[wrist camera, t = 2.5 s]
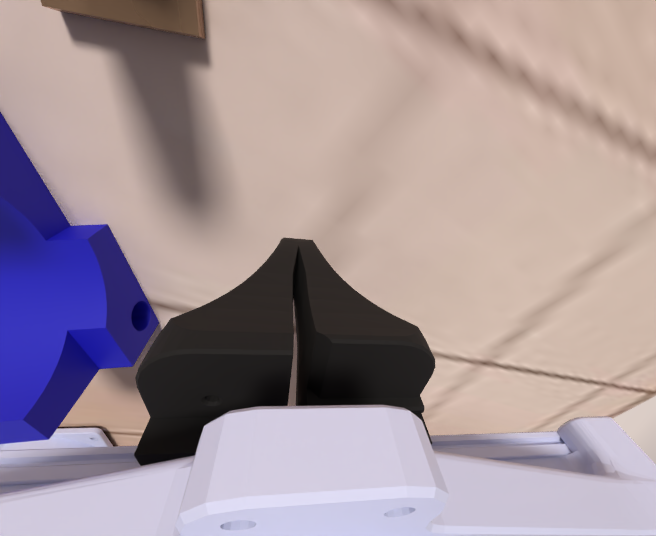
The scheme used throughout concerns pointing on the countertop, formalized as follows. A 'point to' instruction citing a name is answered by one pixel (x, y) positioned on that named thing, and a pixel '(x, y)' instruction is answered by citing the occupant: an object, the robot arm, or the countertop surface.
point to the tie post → (141, 13)
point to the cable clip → (57, 303)
